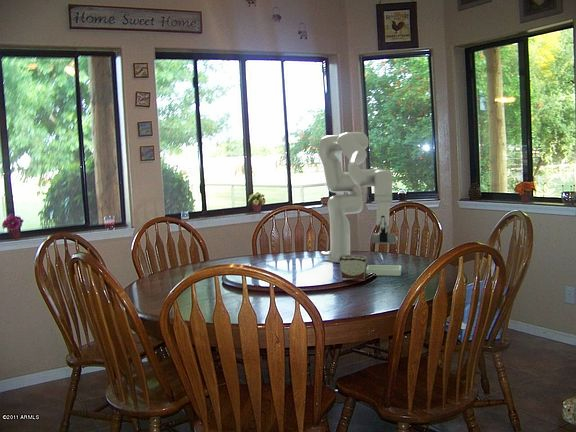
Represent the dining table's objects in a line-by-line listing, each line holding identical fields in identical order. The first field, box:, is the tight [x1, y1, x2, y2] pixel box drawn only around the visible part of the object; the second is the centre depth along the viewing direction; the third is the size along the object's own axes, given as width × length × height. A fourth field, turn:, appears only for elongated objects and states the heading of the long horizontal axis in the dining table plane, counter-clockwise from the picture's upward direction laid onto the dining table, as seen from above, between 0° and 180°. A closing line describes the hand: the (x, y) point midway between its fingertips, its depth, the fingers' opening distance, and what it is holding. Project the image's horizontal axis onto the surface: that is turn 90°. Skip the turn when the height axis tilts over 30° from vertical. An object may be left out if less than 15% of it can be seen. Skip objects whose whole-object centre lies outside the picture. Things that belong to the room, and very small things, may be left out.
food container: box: [338, 254, 369, 279], centre depth 268 cm, size 12×6×10 cm, turn 71°
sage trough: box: [365, 264, 402, 277], centre depth 279 cm, size 15×9×3 cm, turn 79°
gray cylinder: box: [371, 232, 398, 245], centre depth 277 cm, size 11×4×4 cm, turn 79°
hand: (383, 240), depth 277 cm, fingers closed on gray cylinder, 4 cm apart
